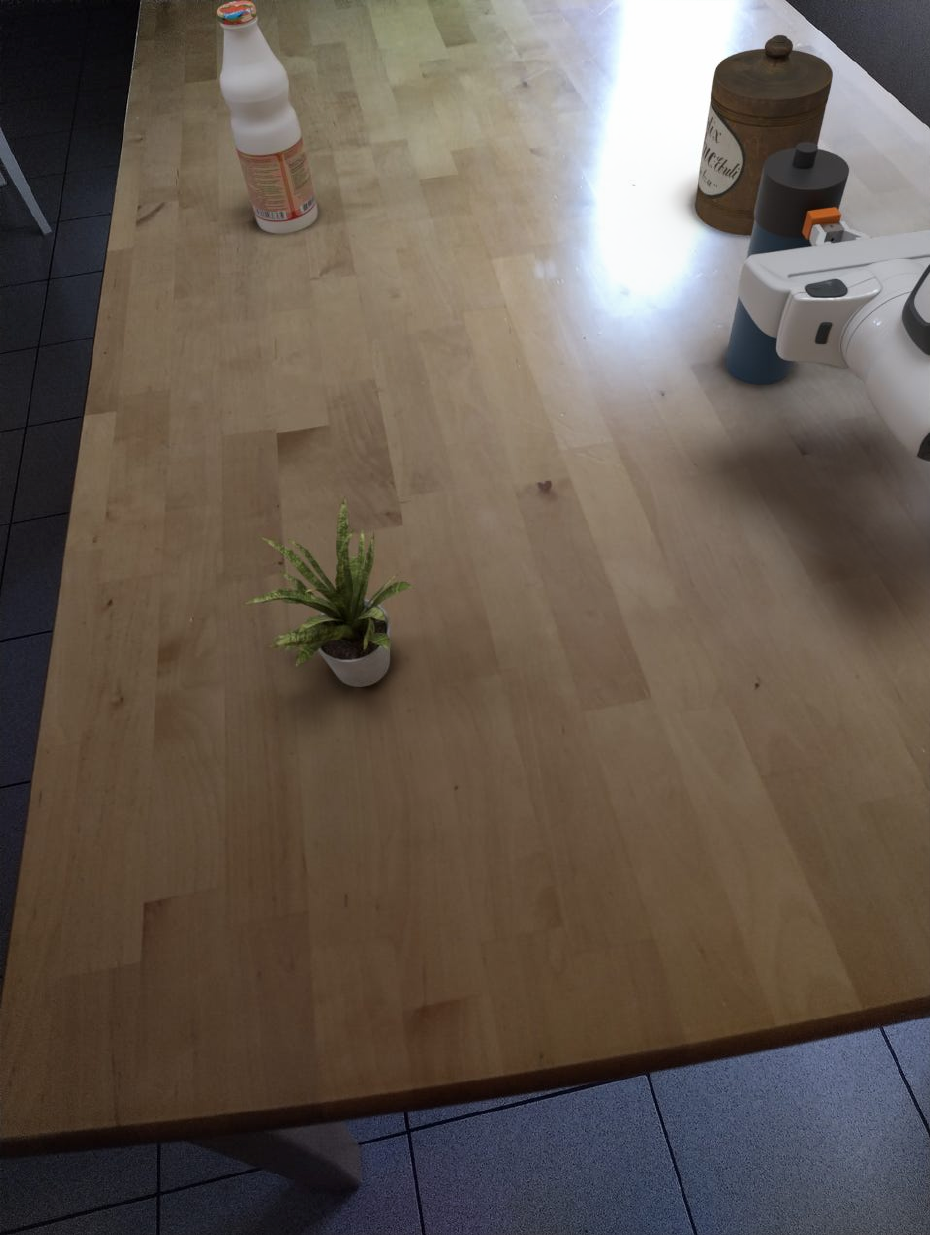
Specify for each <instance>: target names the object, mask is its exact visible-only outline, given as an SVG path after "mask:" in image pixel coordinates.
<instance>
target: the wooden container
mask: <svg viewBox="0 0 930 1235" xmlns="http://www.w3.org/2000/svg"><path fill="white" fill-rule="evenodd" d="M833 78H834V72H833V69H832V67H831V66H830V64H829V63H828V62H827V61H825V60H824V59H822V58H821V57H819V56H816V55H815V54H811V53H809V52H804V51H800V50H794V44H793V41H792V40H791V39H790V38H788V36H787V35H784V34H776V35H774V36H772V37H771V38H769V39H768V40H767V41H766V42H765V44H764V48H757V49H750V50H743V51H741V52H738V53H735V54H732V55H729V56H727V57H726V58H724V59H722V60H721V61H720V62H719V63H718V64H717V65H716V67H715V69H714V73H713V77H712V84H711V92H710V101H709V102H710V103H709V108H708V114H707V121H706V128H705V133H704V140H703V145H702V151H701V157H700V164H699V171H698V179H697V188H696V193H695V203H694V210H695V213H696V214H697V216H698V217H699V219H700V220H701V221H702V222H704V223H705V224H706V225H707V226H709V227H712V228H713V229H715V230H718V231H721V232H724V233H728V234H732V235H738V236H751V234H752V230H753V225H754V220H755V219H754V210H755V205H756V201H757V196H758V191H759V186H760V181H761V176H762V171H763V167H764V163H765V161H766V160H767V159H768V158H769V157H770V156H771V155H773V154H774V153H776V152H779V151H782V150H785V149H791V148H796V147H797V145H798V144H799V143H802V142H811V143H814V144H816V145H817V146H818V145H819V141H820V135H821V131H822V128H823V123H824V119H825V118H824V117H825V115H826V114H825V113H826V108H827V104H828V101H829V97H830V93H831V89H832V85H833V84H832V83H833ZM818 147H819V146H818Z"/></svg>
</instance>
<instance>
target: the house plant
mask: <svg viewBox="0 0 930 1235" xmlns="http://www.w3.org/2000/svg"><path fill="white" fill-rule="evenodd" d="M349 528H350V526H349V520H348V515H347V500H346V496H344V497H343V498H342V502H341V505H340V507H339V513H338V517H337V528H336V542H335V546H336V547H335V548H336V549H335V551H336V558H337V564H336V566H335V567H336V569H335V570H336V575H335V579H334V581H335V586H334V584H333V583H332V582H331V580H330V579H329V578H328V577H327V575H326V574H325V572H324V571H323V569H322V567H321V566H320V564H319V563H318V562H317V560H316V559H315V558H314V556H313V555H312V554H311V552H310V551H309V550H308V549H307V548H306V547H304V546H303V545H301V544H299V543H298V542H296V541H294V540H292V539H289V538H287V540H288V541H289V542H290V543H291V544H292V545H293V546H295V547H296V548H297V549H298V550H299V551H300V553H301V554H302V555H303V556H304V557H305V558H306V559H307V561H308V562H309V564H310V565H311V566H312V569H313V570H314V571H315V572H316V573H317V575H318V576H319V577H318V576H316V575H315V573H314V572H313V571H312V569H310V567H309V566H308V565H307V564H306V563H305V562H304V560H303V559H302V558H301V557H300V556H299V555H298V554H297V553H296V552H295V551H294V550H292V549H290V548H289V547H287V546H285V545H283V544H280V543H278V542H276V541H274V540H271V539H269V538H265V537H260V536H259V537H260V539H261V540H262V541H264V542H265V543H266V544H268V545H269V546H271V547H272V548H274V549H275V550H276V551H278V552H279V554H281V555H282V556H283V557H285V558H286V559H287V560H288V561H289V562H290V563H291V564H292V565H293V566H294V567H295V568H296V570H298V572H299V574H301V575H302V577H303V578H304V579H305V580H306V581H307V582H309V583H310V584H311V585H312V586H313V587H314V588H308V587H307V586H306V585H305V584H304V583H303V581H301V580H300V579H298V578H297V577H294V576H293V575H291V574H289V573H287V572H284V571H281V570H279V573H280V574H281V575H282V576H283V577H284V578H285V579H287V581H288V582H290V583H291V585H293V586H294V587H295V589H293V588H278V589H276V590H273V591H270V592H268V593H264V594H263V595H260V596H257V597H255V598H252V599H250V600H249V601H247V602H246V603H244V604H242V605H251V604H256V603H261V604H264V603H268V602H272V601H281V600H282V601H283V602H284V603H286V604H294V605H295V604H297V605H298V604H301V605H304V606H307V607H309V608H312V609H314V610H315V611H317V612H320V613H321V614H320V615H313V616H308V617H307V619H306V621H305V622H303V623H302V624H301V625H300V627H299V628H297V629H295V630H290V631H288V632H287V631H286V632H285V633H282V634H279V635H277V636H276V637H274V638H273V639H272V641H275V640H277V641H276V642H273V643H272V644H269V645H268V646H266V647H265V648H264V650H265V649H278V648H282V647H284V650H283V653H285V652H286V651H287V650H291V649H296V648H297V647H299V646H300V647H299V649H298V651H297V655H296V660H295V668H297V667H298V666H299V665H301V664H303V663H306V662H307V661H308V660H310V659H311V658H312V657H313V656H315V654H316V653H317V651H318V652H319V654H320V656H321V657H322V658H323V659H324V660H325V662H326V663H327V664H328V666H329V667H330V669H332V672H333V673H334V675H335V676H336V677H337V679H339V680H340V681H341V683H343V684H346V685H347V686H351V687H354V688H363V687H364V688H365V687H367V686H368V687H369V686H372V685H373V684H375V683H378V682H379V681H380V680H381V679H383V677H384V676H385V675H386V674H387V672H388V671H389V668H390V663H391V639H392V638H391V634H392V633H391V632H392V628H391V627H392V626H391V620H390V616H389V615H388V612H387V611H386V610H385V609H384V607H382V605H380V604H381V603H383V602H384V601H386V600H387V599H389V598H391V597H393V596H395V595H397V594H399V593H401V592H403V591H406V590H408V589H415V590H417V588H416V587H414V585H411V584H410V583H408V582H407V581H397V582H394V583H392V584H391V585H389V584H390V583H391V582H392V581H393V580H395V578H397V576H399V575H400V572H398V573H396V574H395V575H394V576H392V577H391V578H389V579H388V580H387V581H386V582H385V583H384V584H383V585H382V586H381V587H380V588H379V589H378V590H377V591H376V592H375V593H374V594H372V596H371V598H370V599H366V595H367V590H368V586H369V579H370V575H371V572H372V568H373V563H374V559H375V558H374V557H375V555H374V554H375V531H373V533H372V535H371V538H370V542H369V546H368V548H367V551H366V540H365V533H364V528H363V527H361V532H360V540H359V543H358V549H357V556H351V557H349V556H350V555H349V547H350V546H349V544H350V541H351V539H352V538H353V535H354V534H355V530H356V528H354V529H352V530H351V532H349V531H350V530H349ZM319 578H320V579H321V580H322V581H323V582H322V581H321V580H320V579H319ZM388 585H389V586H388ZM387 586H388V587H387ZM313 590H314V591H315V592H316V591H317V592H319V593H320V594H321V595H322V596H323V597H320V596H317V595H315V594H314V593H313V592H312V591H313ZM324 598H325V599H324ZM279 639H280V640H279Z"/></svg>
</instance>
